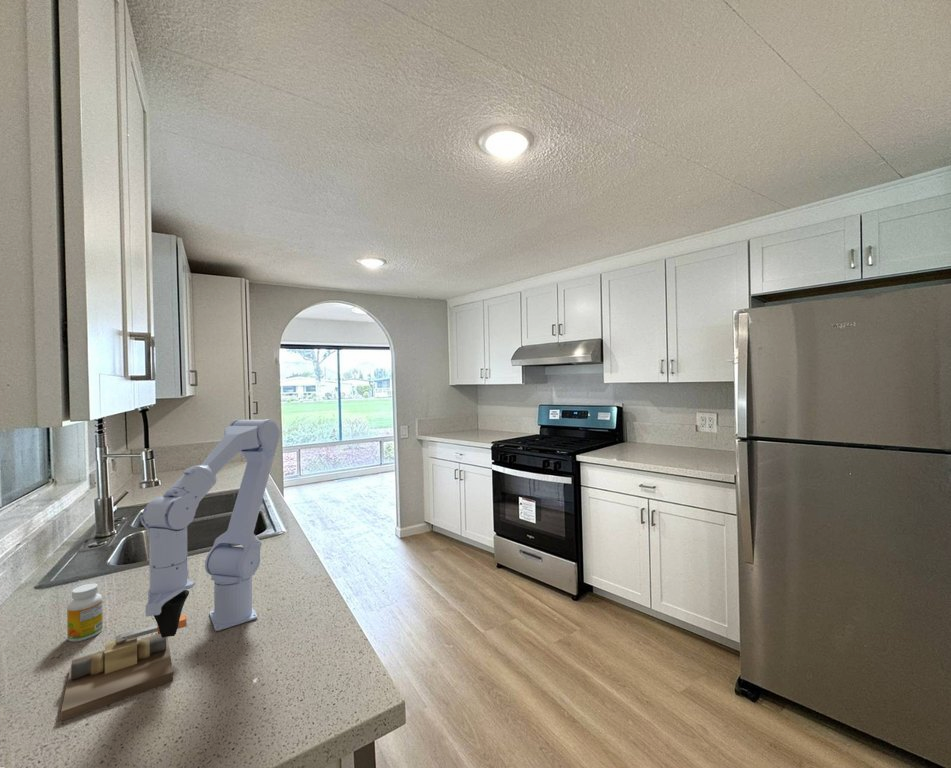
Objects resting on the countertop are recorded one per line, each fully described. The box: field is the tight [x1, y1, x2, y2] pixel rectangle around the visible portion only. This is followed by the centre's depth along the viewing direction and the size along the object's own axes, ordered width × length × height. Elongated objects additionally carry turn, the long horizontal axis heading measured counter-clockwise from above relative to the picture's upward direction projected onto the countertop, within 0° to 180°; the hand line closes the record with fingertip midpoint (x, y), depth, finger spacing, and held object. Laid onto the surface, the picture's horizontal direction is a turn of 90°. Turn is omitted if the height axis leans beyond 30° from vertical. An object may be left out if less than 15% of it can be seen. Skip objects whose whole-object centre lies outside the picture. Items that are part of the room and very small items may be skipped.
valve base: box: [60, 633, 174, 722], centre depth 76 cm, size 16×14×5 cm
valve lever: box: [114, 613, 187, 644], centre depth 79 cm, size 10×2×1 cm, turn 126°
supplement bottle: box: [66, 583, 104, 643], centre depth 88 cm, size 5×5×10 cm
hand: (169, 635), depth 79 cm, fingers closed
